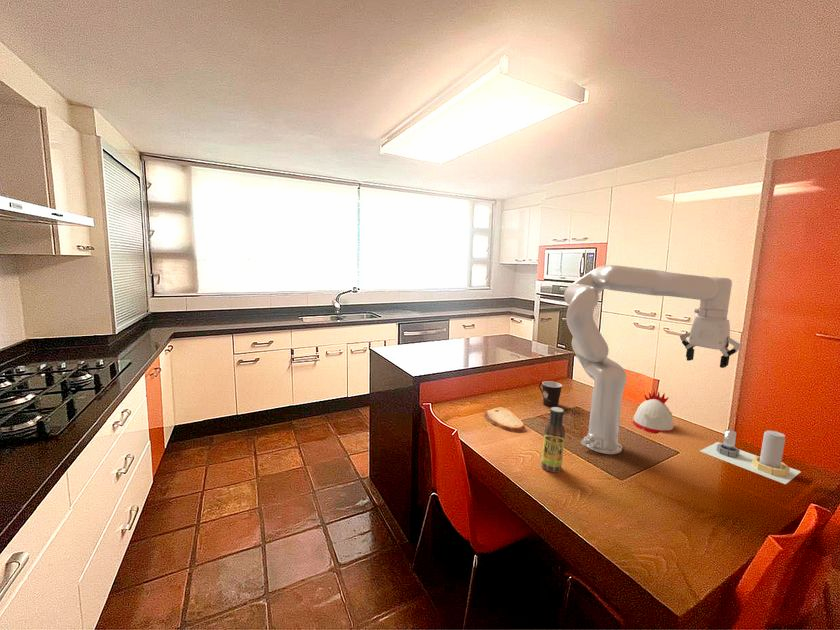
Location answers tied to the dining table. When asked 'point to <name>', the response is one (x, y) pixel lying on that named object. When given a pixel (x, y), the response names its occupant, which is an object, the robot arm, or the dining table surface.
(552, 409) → the sauce bottle
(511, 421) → the bread slice
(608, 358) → the robot arm
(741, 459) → the socket board
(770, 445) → the beverage can
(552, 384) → the coffee mug
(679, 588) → the dining table surface
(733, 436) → the grey peg
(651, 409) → the white and red dome
